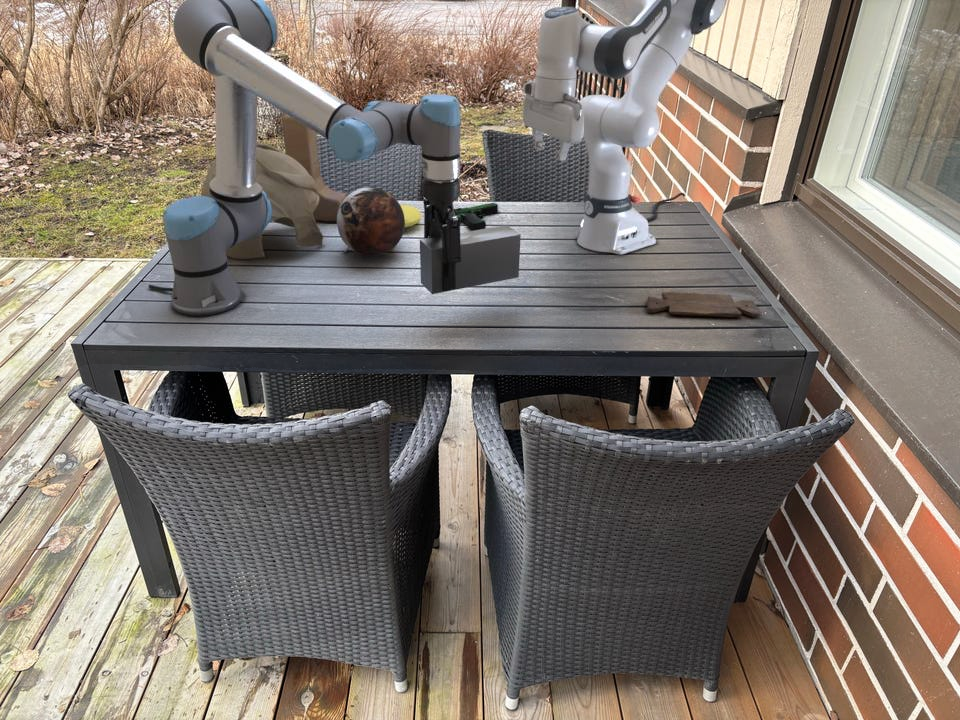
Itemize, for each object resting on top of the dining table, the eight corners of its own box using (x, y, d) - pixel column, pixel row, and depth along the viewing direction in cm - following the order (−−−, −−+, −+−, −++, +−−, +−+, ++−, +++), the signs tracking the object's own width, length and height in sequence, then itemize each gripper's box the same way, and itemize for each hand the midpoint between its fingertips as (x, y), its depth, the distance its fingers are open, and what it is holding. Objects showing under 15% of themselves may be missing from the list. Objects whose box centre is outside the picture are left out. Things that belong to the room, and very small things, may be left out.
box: (505, 267, 164) (507, 225, 158) (518, 277, 159) (520, 234, 154) (420, 283, 155) (419, 239, 150) (432, 294, 151) (431, 249, 145)
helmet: (337, 253, 194) (330, 140, 179) (228, 274, 179) (210, 153, 164) (298, 224, 213) (288, 120, 198) (196, 241, 198) (178, 130, 183)
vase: (376, 214, 219) (375, 191, 216) (426, 217, 218) (426, 194, 214) (362, 232, 206) (360, 208, 202) (415, 235, 204) (415, 212, 201)
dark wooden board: (642, 297, 172) (648, 316, 163) (643, 291, 171) (649, 310, 162) (751, 300, 171) (762, 319, 162) (752, 293, 170) (764, 313, 161)
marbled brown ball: (330, 217, 201) (372, 164, 193) (380, 258, 206) (423, 208, 197) (307, 245, 182) (352, 187, 173) (363, 289, 186) (409, 234, 178)
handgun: (467, 223, 206) (446, 206, 217) (467, 232, 208) (445, 215, 219) (516, 216, 213) (492, 199, 224) (515, 225, 214) (492, 209, 226)
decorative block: (341, 222, 212) (332, 118, 197) (293, 219, 214) (280, 116, 199) (348, 214, 219) (340, 113, 204) (301, 211, 221) (289, 110, 205)
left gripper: (405, 167, 148) (409, 270, 160) (443, 194, 134) (444, 304, 145) (438, 163, 151) (440, 264, 163) (479, 189, 137) (477, 298, 148)
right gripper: (594, 98, 149) (587, 164, 155) (543, 82, 164) (539, 143, 171) (568, 100, 146) (563, 167, 153) (519, 83, 162) (516, 145, 169)
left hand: (442, 283), depth 154 cm, fingers closed on box, 6 cm apart
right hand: (550, 154), depth 162 cm, fingers open, 8 cm apart
